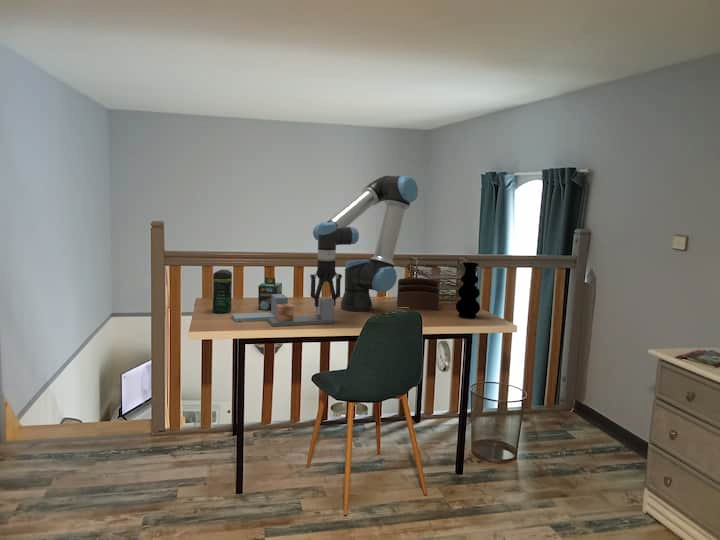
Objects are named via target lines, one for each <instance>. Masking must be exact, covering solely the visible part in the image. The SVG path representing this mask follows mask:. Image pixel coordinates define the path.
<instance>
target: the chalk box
mask: <svg viewBox="0 0 720 540" xmlns="http://www.w3.org/2000/svg"><path fill="white" fill-rule="evenodd" d="M269 280H271V282H270V281H269ZM257 287H258V292H257V293H258V295H257V296H258V299H257V300H258V302H257V303H258V304H257V305H258V311H261V310H263V311H271V294H283V283H282V282H276V278H275V276H274V277H271V276H270V277H269V276H265V278H264V282H262V283H260V284H259V285H258V286H257Z"/></svg>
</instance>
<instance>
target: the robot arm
mask: <svg viewBox="0 0 720 540" xmlns="http://www.w3.org/2000/svg"><path fill="white" fill-rule="evenodd" d="M418 195H419V187H418V184H417V182H416V180H415V179H414V177H411V176H406V175H384V176H382V177H381V176H380V177H379V178H377V179H375V180H373V181H372V182H370V183H369V184H368V185H366V186H365V187H364V188H363V189H362V191H361V193H360V194H359V195H358V196H356V197H355V198H354V199H353V200H351V201H350V202H349V203H348V204H347V205H345V206H344V207H343V208H342V209H341V210H339V212H337V213H336V214H334V216H332V217H331V218H330V219H329V220H327V221H325V222H320V223H319V224H317V225H315V226H314V228H313V230H312V235H313V238H314V239H315V240H316V241H317V259H318V260H317V261H316V262H317V266H316V267H317V269H316V272H315V273H313V274H312V273H311V274H309V277H310V298H312V299H313V300H314V307H315V308H316V307H317V314H318V315H320V304H321V300H320V299H319V297H321V291H322V289H323V285H324V284H325V283H326V282H327V283H328V287H329V291H330V294H331V298H330V297H329V298H330V299H332V300H333V301H334V307H336V306H337V305H336V302H337V299H338V298H341V280H342V277H343V275H342V274H341V273H337V272H336V255H337V254H336V252H337V251H336V250H337V246H343V245H348V246H350V245H355V244H357V243H358V241H359V238H360V236H359V235H360V234H359V233H360V232H359V231H358V229H357V228H356V227H354V226H350V225H351V224H352V223H353V222H354V221H356V220H357V219H358V218H359V217H360V216H361V215H363V214H364V213H365V212H367V211H368V209H370V208H372V206H377V205H378V204H379V203H382V202H384V203H385V205H386V208H385V212H384V216H383V219H382V223H381V226H380V227H381V228H380V231H379V236H378V240H377V244H376V248H375V251H374V254H373V256H372V257H370V258H369V259H360V260H359V259H355V260H347V261H346V263H345V268H344V291H343V295H342V298H341V301H340V305H339V306H340V307H341V308H340V307H339V308H340V309H342V310H344V309H345V311H350V310H351V312H366V311H365V310H367V311H371V310H372V309H373V303H372V302H373V301H372V299H371V295H370V290H371V291H376V292H381V293H382V292H383V293H384V292H388V291H390V290H391V289H392V288H394V286H395V284H396V283H397V279H398V278H397V277H398V274H397V271H396V269H395V263H394V261H393V259H394V255H395V251H396V247H397V244H398V239H399V235H400V231H401V227H402V223H403V219H404V216H405V215H404V214H405V212H406V210H408V209H409V208H410V206H411V203H413V202H414V201H416V200H417V197H418ZM317 278H318V284H317V287H316V283H317V282H316V279H317ZM334 278H335V287H334V280H333V279H334ZM370 309H371V310H370Z"/></svg>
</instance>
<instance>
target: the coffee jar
mask: <svg viewBox="0 0 720 540" xmlns="http://www.w3.org/2000/svg"><path fill="white" fill-rule="evenodd" d="M212 277H213V278H212V311H213V313H214V312H215V313H218V314H223V313H229V312H231V310H232V298H233V297H232V293H233V289H232V287H233V283H232V282H233V273H232V271H230V270H229V269H219V270H217V271H215V272H213V274H212Z"/></svg>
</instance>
